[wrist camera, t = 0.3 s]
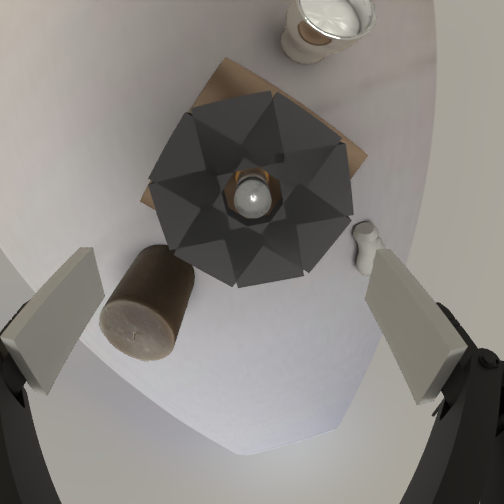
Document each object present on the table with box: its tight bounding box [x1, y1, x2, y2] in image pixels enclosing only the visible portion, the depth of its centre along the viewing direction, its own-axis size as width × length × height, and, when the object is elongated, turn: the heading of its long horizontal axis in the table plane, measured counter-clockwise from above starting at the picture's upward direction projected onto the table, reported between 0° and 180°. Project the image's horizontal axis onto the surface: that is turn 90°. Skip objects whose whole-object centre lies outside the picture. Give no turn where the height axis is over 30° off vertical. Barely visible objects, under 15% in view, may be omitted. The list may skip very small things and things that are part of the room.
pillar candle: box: [99, 245, 195, 361], centre depth 37 cm, size 10×10×15 cm
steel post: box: [234, 167, 272, 218], centre depth 30 cm, size 4×4×11 cm
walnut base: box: [140, 57, 368, 219], centre depth 36 cm, size 21×21×2 cm
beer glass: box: [281, 0, 377, 64], centre depth 22 cm, size 7×7×15 cm
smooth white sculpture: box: [353, 222, 385, 276], centre depth 40 cm, size 4×8×5 cm
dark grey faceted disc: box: [148, 90, 353, 288], centre depth 27 cm, size 18×18×2 cm
